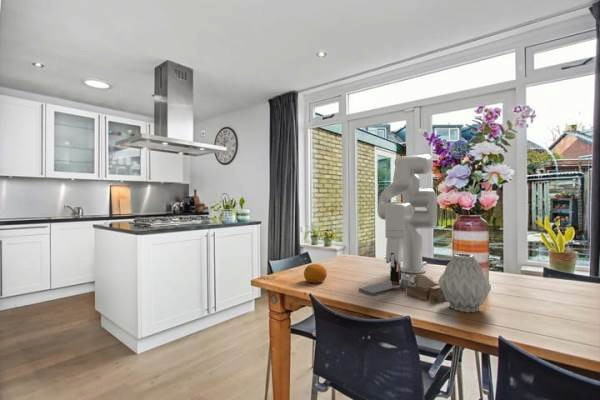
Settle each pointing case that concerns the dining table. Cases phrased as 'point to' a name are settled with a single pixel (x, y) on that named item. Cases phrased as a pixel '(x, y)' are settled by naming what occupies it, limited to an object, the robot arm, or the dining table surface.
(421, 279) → the stone
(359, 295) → the dining table surface
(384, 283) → the flat grey bar
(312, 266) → the fruit
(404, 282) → the lever
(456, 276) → the vase
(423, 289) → the cradle
